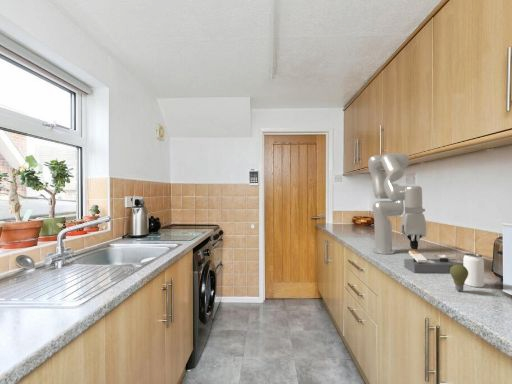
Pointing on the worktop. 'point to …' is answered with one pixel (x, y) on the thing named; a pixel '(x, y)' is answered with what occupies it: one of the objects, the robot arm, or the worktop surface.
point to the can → (474, 270)
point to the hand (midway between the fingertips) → (414, 248)
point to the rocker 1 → (417, 256)
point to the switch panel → (431, 265)
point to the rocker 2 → (443, 256)
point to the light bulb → (459, 276)
